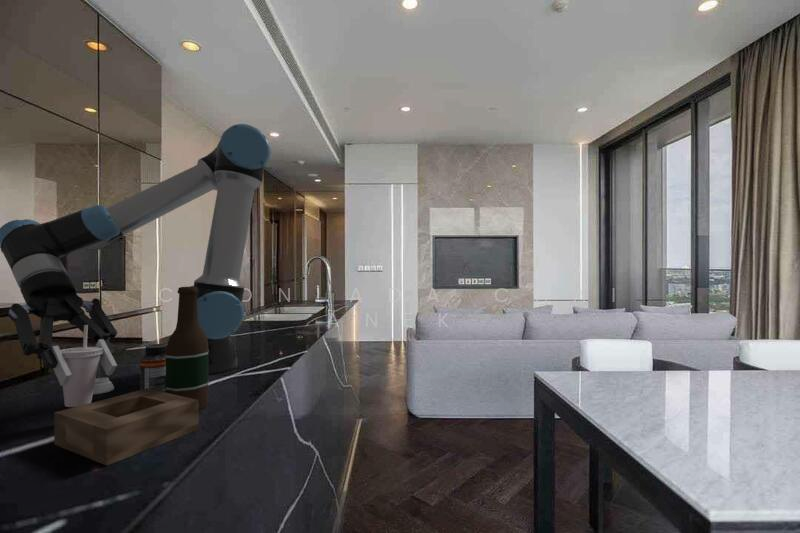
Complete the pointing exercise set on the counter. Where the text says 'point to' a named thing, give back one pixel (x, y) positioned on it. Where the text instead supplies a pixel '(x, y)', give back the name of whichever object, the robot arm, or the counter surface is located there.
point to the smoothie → (81, 372)
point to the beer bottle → (188, 352)
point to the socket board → (125, 424)
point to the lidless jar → (102, 386)
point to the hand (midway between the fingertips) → (90, 375)
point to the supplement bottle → (153, 368)
